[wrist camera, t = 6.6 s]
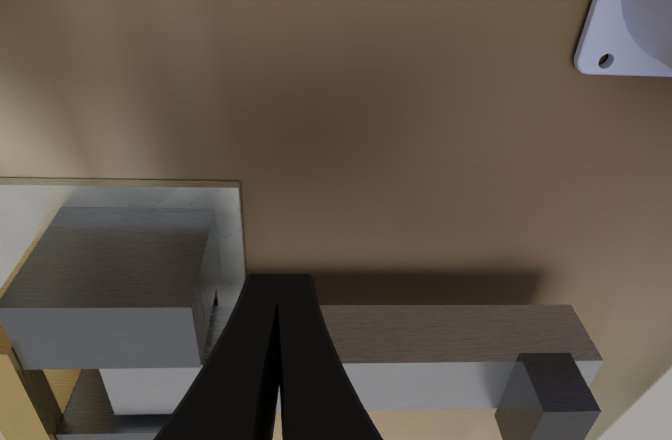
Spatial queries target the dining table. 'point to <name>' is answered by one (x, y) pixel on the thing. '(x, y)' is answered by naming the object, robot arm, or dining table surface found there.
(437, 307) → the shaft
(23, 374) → the brass spacer
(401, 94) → the dining table surface
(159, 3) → the dining table surface
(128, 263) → the bearing block
